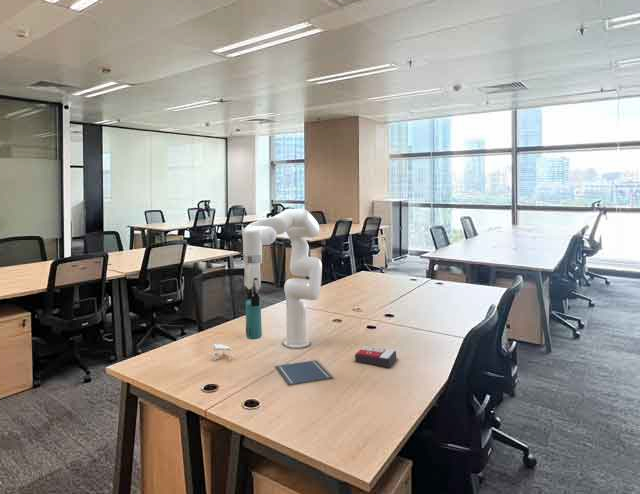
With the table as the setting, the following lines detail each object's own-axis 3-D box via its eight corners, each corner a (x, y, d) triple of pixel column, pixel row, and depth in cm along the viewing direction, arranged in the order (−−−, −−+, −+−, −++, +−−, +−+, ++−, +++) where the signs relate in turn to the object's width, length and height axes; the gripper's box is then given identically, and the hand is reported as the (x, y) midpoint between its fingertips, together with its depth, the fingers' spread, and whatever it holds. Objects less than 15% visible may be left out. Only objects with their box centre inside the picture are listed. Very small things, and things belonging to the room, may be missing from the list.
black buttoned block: (363, 345, 194) (396, 349, 187) (364, 354, 194) (396, 358, 187) (354, 353, 185) (388, 357, 177) (355, 363, 184) (389, 368, 177)
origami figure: (205, 360, 188) (205, 348, 188) (215, 353, 195) (215, 342, 195) (229, 363, 183) (229, 352, 184) (238, 356, 191) (238, 345, 191)
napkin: (276, 366, 180) (276, 366, 180) (315, 361, 185) (315, 360, 185) (289, 385, 163) (289, 384, 163) (332, 378, 168) (332, 377, 168)
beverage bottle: (264, 338, 174) (263, 289, 173) (257, 344, 167) (257, 293, 167) (250, 336, 176) (249, 288, 176) (242, 342, 169) (242, 292, 169)
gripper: (239, 256, 178) (240, 299, 178) (247, 263, 162) (248, 310, 162) (256, 255, 181) (257, 297, 181) (267, 262, 164) (267, 308, 164)
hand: (253, 303), depth 171 cm, fingers closed on beverage bottle, 6 cm apart
